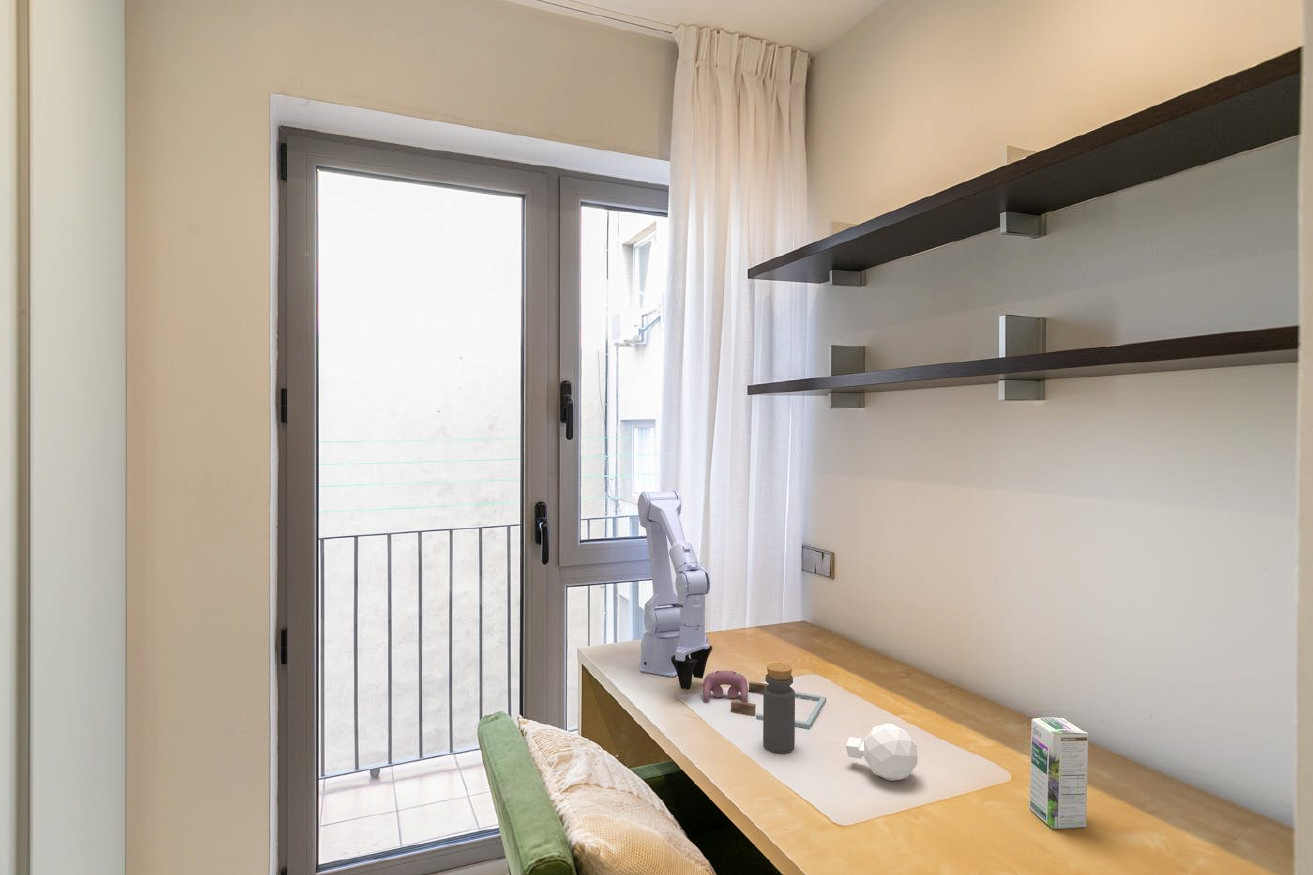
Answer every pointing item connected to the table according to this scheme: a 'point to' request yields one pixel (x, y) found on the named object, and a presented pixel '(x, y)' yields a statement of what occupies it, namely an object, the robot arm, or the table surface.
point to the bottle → (779, 709)
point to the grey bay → (812, 716)
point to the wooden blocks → (748, 707)
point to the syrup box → (1058, 773)
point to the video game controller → (725, 678)
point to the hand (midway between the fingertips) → (692, 683)
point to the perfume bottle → (886, 751)
